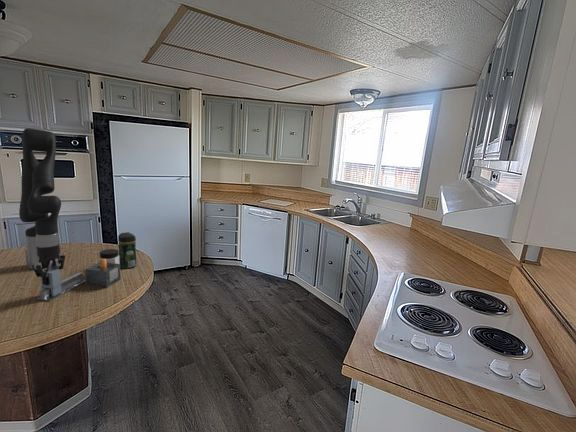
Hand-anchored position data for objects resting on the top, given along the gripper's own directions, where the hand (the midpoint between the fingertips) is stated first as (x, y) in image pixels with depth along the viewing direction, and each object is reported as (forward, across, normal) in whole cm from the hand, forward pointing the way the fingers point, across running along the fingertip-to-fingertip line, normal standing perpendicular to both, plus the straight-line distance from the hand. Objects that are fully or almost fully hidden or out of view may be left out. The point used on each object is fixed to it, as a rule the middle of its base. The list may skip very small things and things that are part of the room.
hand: (51, 282), depth 126 cm
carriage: (+6, 0, 0) cm, 6 cm away
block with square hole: (+6, -17, +11) cm, 21 cm away
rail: (+6, -6, 0) cm, 8 cm away
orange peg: (+3, -17, +11) cm, 20 cm away
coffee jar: (+6, -39, +9) cm, 40 cm away
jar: (+6, -27, +7) cm, 28 cm away
